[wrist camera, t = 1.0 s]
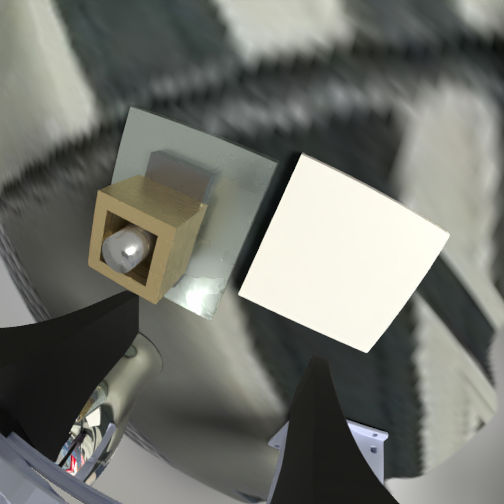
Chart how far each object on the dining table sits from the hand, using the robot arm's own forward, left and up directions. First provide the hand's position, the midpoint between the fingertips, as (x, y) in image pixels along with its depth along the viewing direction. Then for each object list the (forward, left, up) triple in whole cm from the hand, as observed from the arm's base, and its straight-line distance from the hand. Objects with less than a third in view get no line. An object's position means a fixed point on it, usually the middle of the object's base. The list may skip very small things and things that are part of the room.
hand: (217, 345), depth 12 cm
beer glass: (+7, +16, -10) cm, 20 cm away
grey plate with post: (+6, +1, -10) cm, 12 cm away
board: (-5, -1, -10) cm, 11 cm away
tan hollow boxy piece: (+6, +1, -8) cm, 10 cm away
